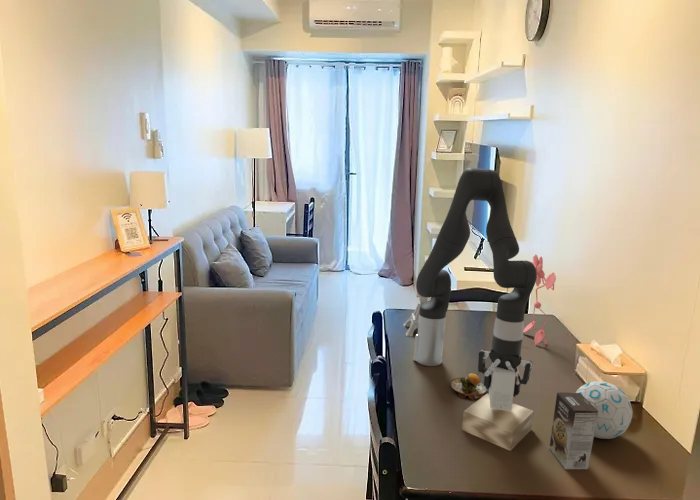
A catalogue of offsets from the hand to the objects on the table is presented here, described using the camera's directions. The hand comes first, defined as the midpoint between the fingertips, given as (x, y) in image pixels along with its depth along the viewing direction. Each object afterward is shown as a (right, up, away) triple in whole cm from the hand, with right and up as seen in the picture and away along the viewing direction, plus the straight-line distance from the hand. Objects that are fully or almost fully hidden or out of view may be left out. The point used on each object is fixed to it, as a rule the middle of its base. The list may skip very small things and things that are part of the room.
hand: (501, 391), depth 144 cm
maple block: (0, -11, +3) cm, 12 cm away
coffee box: (+14, -15, -9) cm, 23 cm away
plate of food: (-3, -6, +25) cm, 26 cm away
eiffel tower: (-12, +5, +74) cm, 75 cm away
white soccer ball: (+27, -13, +3) cm, 30 cm away
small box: (0, -3, +1) cm, 4 cm away
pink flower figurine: (+29, +2, +69) cm, 75 cm away
